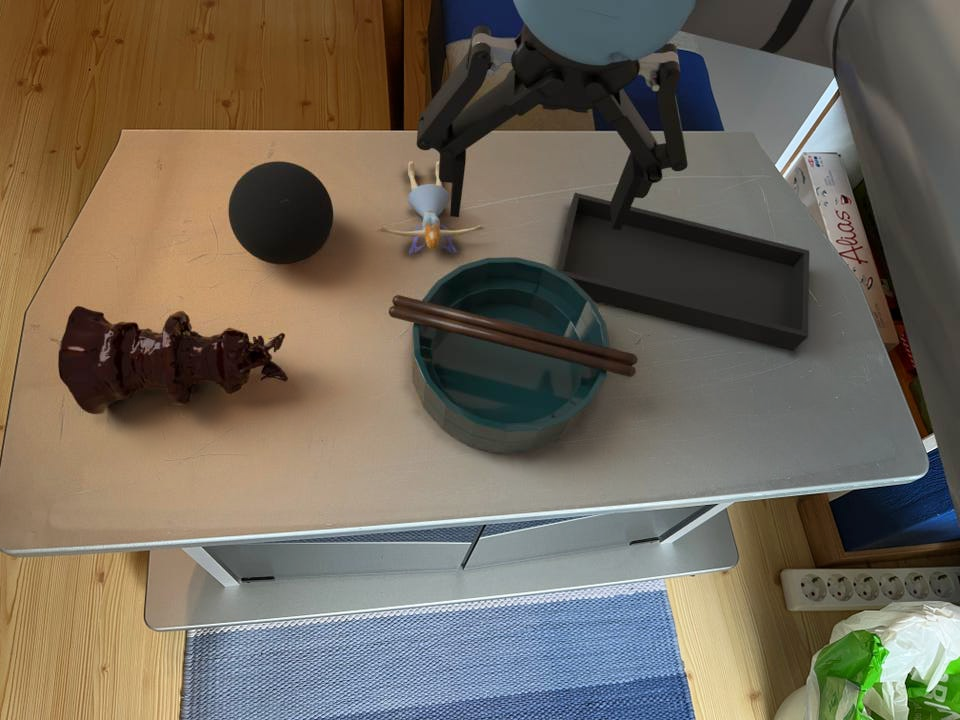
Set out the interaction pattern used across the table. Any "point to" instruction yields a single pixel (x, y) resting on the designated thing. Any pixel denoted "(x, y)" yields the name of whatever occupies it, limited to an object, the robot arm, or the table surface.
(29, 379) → the table surface
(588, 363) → the chopsticks
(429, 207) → the fairy figurine
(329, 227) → the speaker
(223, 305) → the table surface
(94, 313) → the figurine
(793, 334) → the tray
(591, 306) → the bowl
